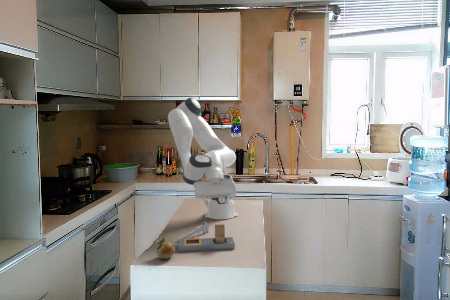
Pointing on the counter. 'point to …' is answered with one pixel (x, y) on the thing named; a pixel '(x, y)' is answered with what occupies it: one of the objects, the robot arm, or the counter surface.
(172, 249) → the onion
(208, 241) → the rail
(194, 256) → the counter surface
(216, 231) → the peg
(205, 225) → the caliper
